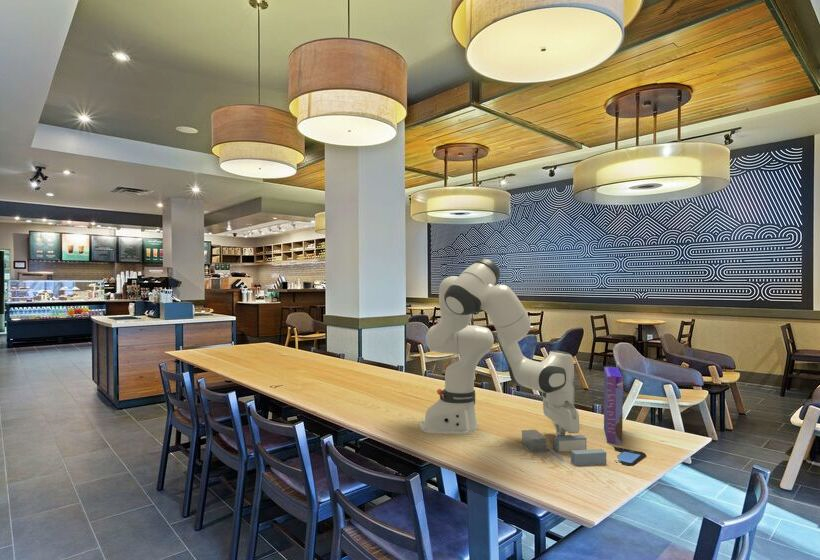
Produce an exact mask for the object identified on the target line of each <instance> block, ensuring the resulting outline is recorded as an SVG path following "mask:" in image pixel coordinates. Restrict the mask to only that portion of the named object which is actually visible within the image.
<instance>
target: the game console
mask: <svg viewBox="0 0 820 560" xmlns="http://www.w3.org/2000/svg"><path fill="white" fill-rule="evenodd" d="M612 447H613V448H614V449H613V450H614V451H615V452H618V453H619V454H617V455H616V458H617V461H615V463H617V464H618V463H619V464H621V465H622V466H625V467H634V466H636V465H637V464H638V463H640V462H641V461H642V460H644V459H645V458H647V454H646V453H645V452H643V451H639V450H633V449H629V448H628V449H627V448H624V447H618V446H612Z"/></svg>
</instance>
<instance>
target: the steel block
mask: <svg viewBox="0 0 820 560" xmlns="http://www.w3.org/2000/svg"><path fill="white" fill-rule="evenodd" d="M547 439H548V438H547V437H546V436H545V435H543V434H542V433H540V432H539V431H538V430H537V429H526V430H525V429H524V430H521V446H523V447H525V449H527V450H528V451H529V452H531V453H532V454H536V453H537V454H538V453H547V450H548V449H547V448H548V447H547V445H548V444H547V441H548V440H547Z"/></svg>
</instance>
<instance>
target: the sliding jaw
mask: <svg viewBox="0 0 820 560" xmlns="http://www.w3.org/2000/svg"><path fill="white" fill-rule="evenodd" d="M553 450H556V451H557V452H571V451H573V450H587V437H586V436H585V435H583V434H578V435H572V434H565V435H560V436H557V435H553Z"/></svg>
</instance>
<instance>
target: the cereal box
mask: <svg viewBox="0 0 820 560" xmlns="http://www.w3.org/2000/svg"><path fill="white" fill-rule="evenodd" d="M623 381H624V377H623V375H622V373H621V371H620V369H619V367H618V366H612V365H611V366H609V365H607V366H603V429H604V434H605V439H606V443H608V444H615V445H616V444H617V445H623V421H624V420H623V418H624V417H623V415H624V414H623V406H624V405H623V402H624V400H623V399H624V398H623V397H624V396H623V395H624V394H623V393H624V386H623V385H624V382H623Z"/></svg>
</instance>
